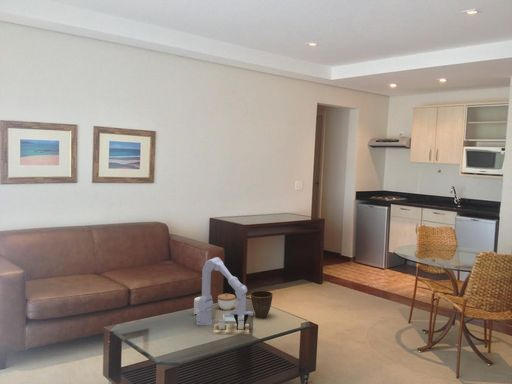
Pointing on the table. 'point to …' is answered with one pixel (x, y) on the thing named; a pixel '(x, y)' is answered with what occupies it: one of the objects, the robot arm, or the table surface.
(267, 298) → the plant pot
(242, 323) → the loose billet
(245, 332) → the wooden frame board
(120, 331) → the table surface
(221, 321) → the block
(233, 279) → the robot arm
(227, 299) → the lidded bowl
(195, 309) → the photo printer
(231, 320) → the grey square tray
